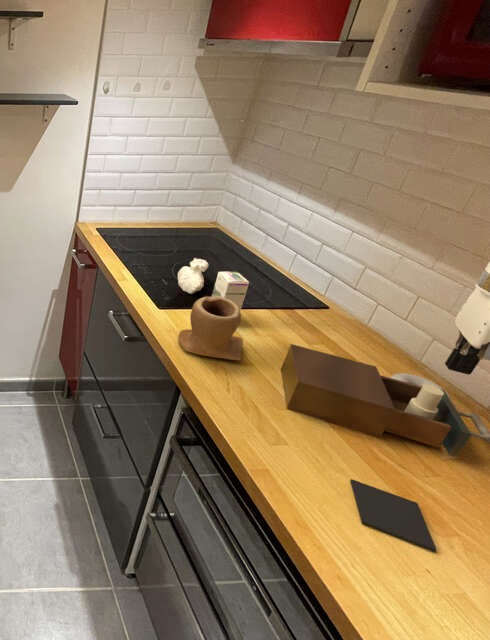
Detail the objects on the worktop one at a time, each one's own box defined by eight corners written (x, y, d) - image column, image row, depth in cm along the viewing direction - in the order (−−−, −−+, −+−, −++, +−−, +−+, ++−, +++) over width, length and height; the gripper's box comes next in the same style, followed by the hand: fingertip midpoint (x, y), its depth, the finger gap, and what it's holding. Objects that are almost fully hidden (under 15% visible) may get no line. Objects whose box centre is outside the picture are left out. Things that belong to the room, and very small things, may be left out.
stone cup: (180, 359, 110) (195, 308, 104) (175, 332, 121) (188, 284, 115) (249, 373, 106) (269, 321, 100) (238, 344, 116) (254, 295, 110)
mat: (415, 505, 76) (417, 502, 76) (435, 552, 69) (436, 550, 69) (349, 481, 80) (351, 478, 80) (361, 523, 73) (363, 521, 73)
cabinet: (362, 393, 101) (376, 366, 98) (379, 438, 89) (395, 409, 86) (280, 369, 108) (290, 343, 105) (286, 408, 96) (298, 381, 93)
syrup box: (236, 327, 123) (251, 281, 117) (214, 326, 124) (228, 281, 118) (225, 315, 129) (239, 271, 123) (205, 315, 129) (217, 270, 123)
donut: (391, 402, 99) (454, 420, 94) (397, 390, 97) (461, 408, 92) (381, 376, 106) (438, 391, 102) (387, 364, 105) (445, 379, 100)
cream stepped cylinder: (425, 416, 92) (443, 387, 89) (432, 430, 89) (451, 399, 85) (400, 409, 94) (416, 379, 90) (406, 422, 91) (423, 392, 87)
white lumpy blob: (196, 304, 138) (226, 279, 134) (180, 290, 136) (210, 265, 133) (180, 284, 149) (207, 261, 145) (165, 271, 147) (192, 248, 144)
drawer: (463, 420, 93) (477, 398, 90) (493, 468, 82) (509, 446, 80) (346, 386, 101) (356, 366, 99) (359, 426, 91) (371, 405, 88)
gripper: (567, 314, 70) (503, 402, 78) (519, 275, 82) (467, 354, 89) (500, 300, 73) (445, 386, 81) (463, 264, 85) (418, 342, 93)
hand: (456, 369), depth 85 cm, fingers closed
